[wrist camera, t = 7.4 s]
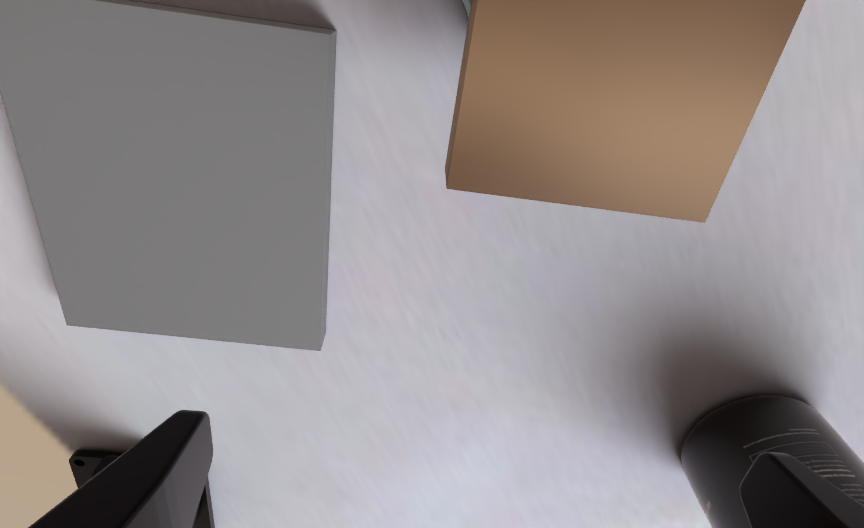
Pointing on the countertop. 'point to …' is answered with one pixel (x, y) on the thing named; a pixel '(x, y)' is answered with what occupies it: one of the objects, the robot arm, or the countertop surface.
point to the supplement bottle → (754, 434)
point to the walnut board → (611, 99)
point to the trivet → (176, 165)
